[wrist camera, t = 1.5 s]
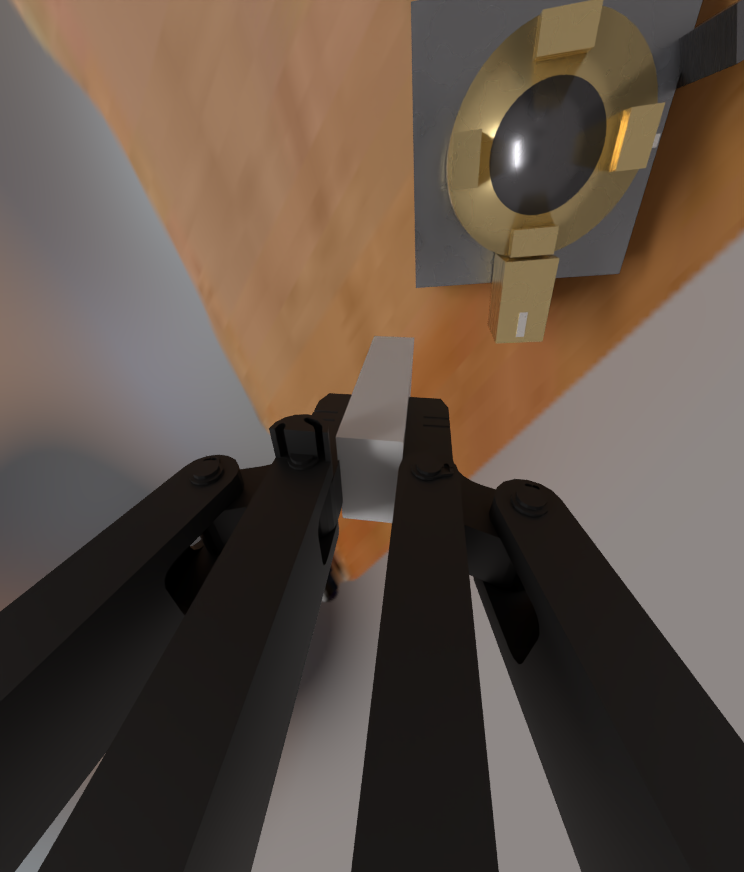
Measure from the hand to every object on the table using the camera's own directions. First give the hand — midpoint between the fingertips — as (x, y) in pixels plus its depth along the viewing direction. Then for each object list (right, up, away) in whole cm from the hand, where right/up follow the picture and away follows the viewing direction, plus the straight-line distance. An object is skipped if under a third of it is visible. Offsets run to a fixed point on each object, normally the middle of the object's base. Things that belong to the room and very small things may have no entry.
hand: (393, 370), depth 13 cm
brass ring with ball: (+9, +12, +8) cm, 17 cm away
